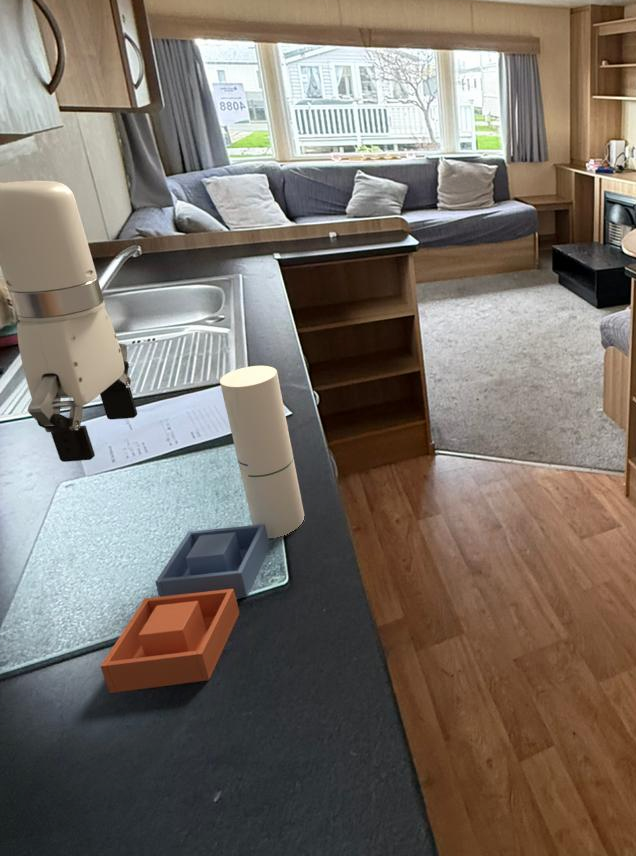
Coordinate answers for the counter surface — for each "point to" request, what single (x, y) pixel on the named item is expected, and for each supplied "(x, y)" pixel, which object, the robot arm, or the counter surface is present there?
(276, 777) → the counter surface
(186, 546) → the slate bin
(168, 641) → the terracotta block
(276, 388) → the cylindrical container
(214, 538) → the slate block
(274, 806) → the counter surface
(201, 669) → the terracotta bin
